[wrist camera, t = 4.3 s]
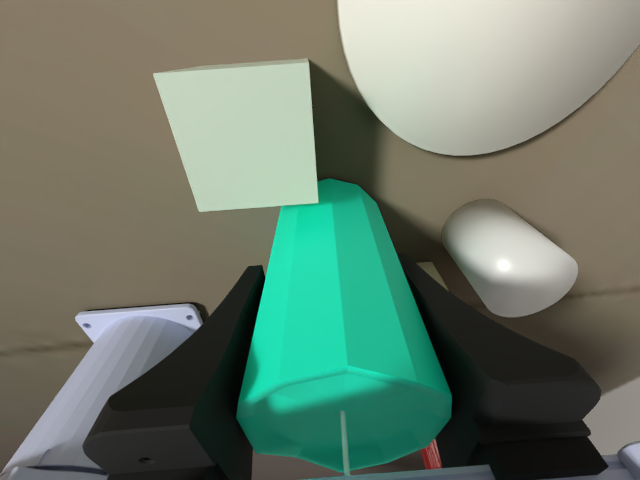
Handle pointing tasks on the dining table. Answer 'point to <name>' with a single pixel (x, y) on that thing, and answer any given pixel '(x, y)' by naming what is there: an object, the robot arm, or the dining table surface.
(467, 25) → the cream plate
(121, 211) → the dining table surface
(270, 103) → the sage block
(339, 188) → the candle
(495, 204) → the grey cylinder
